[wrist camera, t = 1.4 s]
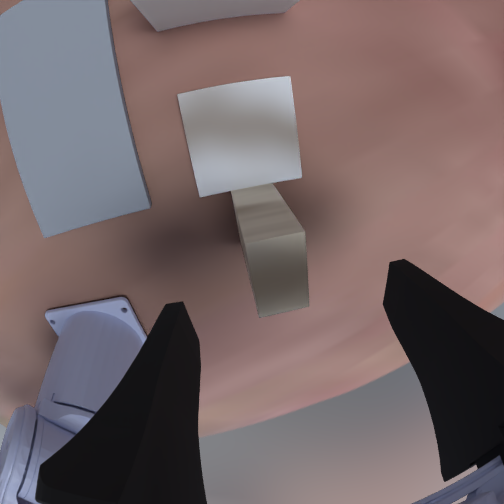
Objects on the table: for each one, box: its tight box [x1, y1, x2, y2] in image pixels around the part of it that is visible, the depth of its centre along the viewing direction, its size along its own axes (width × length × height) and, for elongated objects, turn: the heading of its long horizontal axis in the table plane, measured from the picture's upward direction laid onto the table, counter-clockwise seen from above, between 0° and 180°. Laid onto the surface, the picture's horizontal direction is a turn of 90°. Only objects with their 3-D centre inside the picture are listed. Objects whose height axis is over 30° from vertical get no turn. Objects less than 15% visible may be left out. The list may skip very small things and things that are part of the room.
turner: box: [177, 76, 309, 318], centre depth 14 cm, size 10×6×7 cm, turn 9°
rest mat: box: [0, 0, 152, 238], centre depth 13 cm, size 16×8×1 cm, turn 9°
